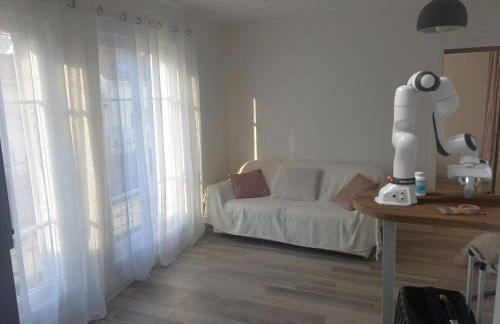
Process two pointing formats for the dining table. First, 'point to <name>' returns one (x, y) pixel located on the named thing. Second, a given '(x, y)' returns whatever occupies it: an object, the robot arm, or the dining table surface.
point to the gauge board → (456, 212)
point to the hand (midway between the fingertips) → (469, 185)
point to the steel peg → (469, 186)
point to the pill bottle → (420, 184)
